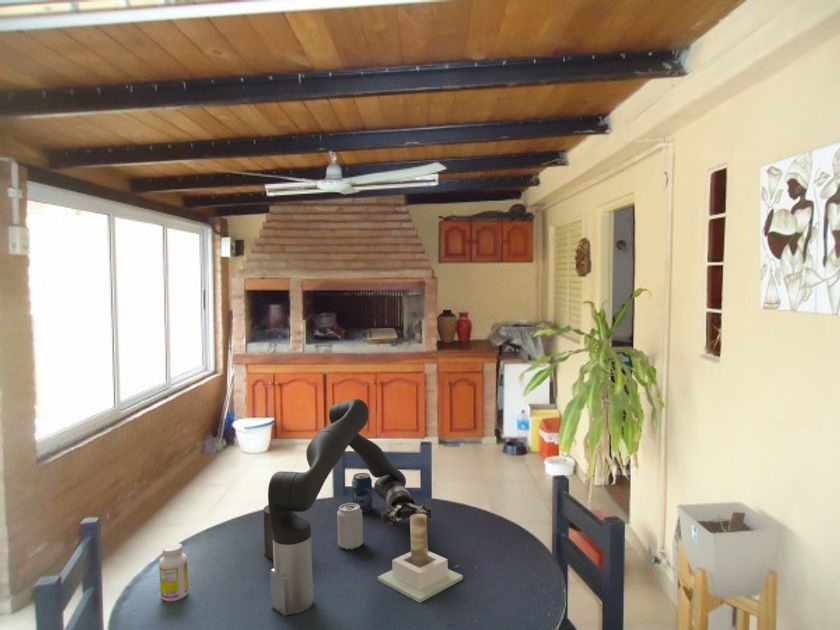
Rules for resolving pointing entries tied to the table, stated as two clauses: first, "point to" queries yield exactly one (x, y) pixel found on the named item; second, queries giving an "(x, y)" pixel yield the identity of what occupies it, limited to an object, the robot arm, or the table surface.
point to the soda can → (362, 491)
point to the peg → (418, 540)
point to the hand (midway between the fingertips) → (411, 523)
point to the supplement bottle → (173, 573)
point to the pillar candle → (268, 534)
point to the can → (350, 526)
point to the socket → (420, 577)
